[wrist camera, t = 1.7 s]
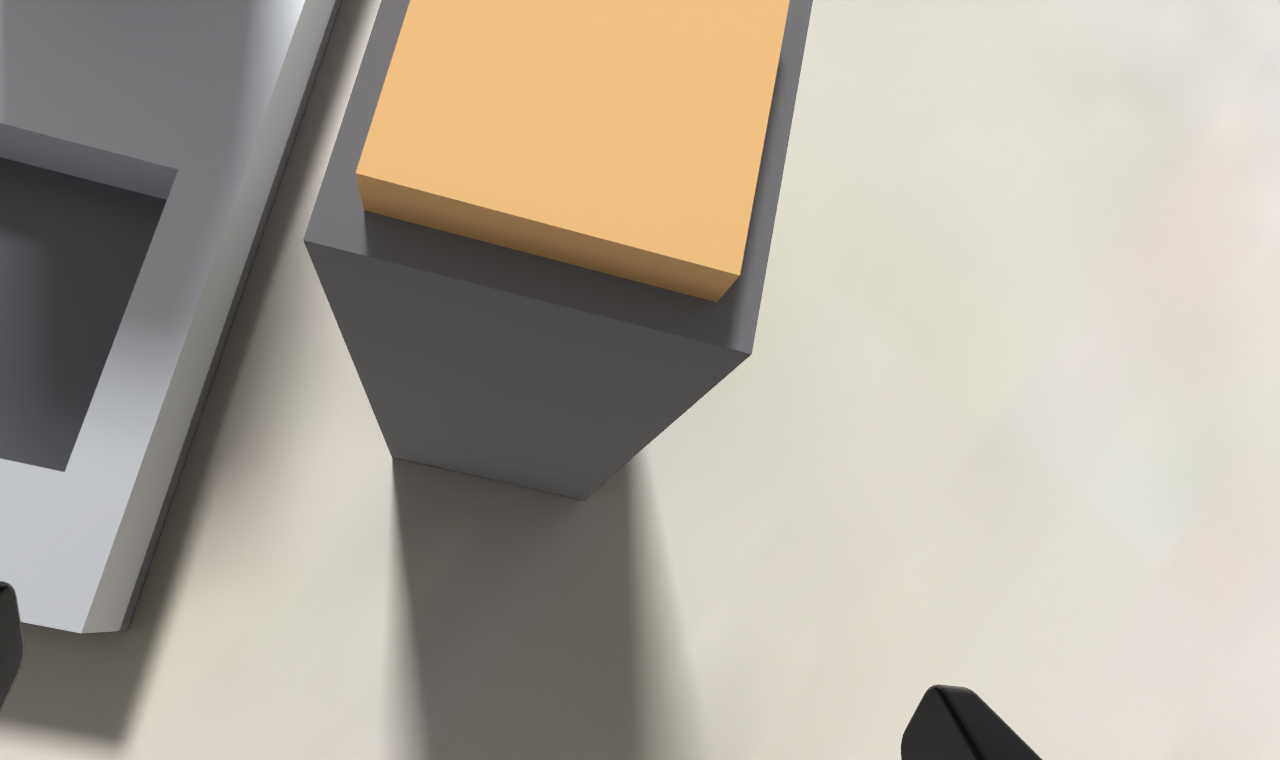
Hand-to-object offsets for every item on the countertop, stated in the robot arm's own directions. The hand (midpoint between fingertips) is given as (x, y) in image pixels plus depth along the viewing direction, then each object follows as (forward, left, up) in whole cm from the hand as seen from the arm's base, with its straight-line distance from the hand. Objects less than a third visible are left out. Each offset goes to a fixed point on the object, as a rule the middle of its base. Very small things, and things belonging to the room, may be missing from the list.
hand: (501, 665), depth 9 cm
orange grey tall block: (+6, +1, -12) cm, 13 cm away
